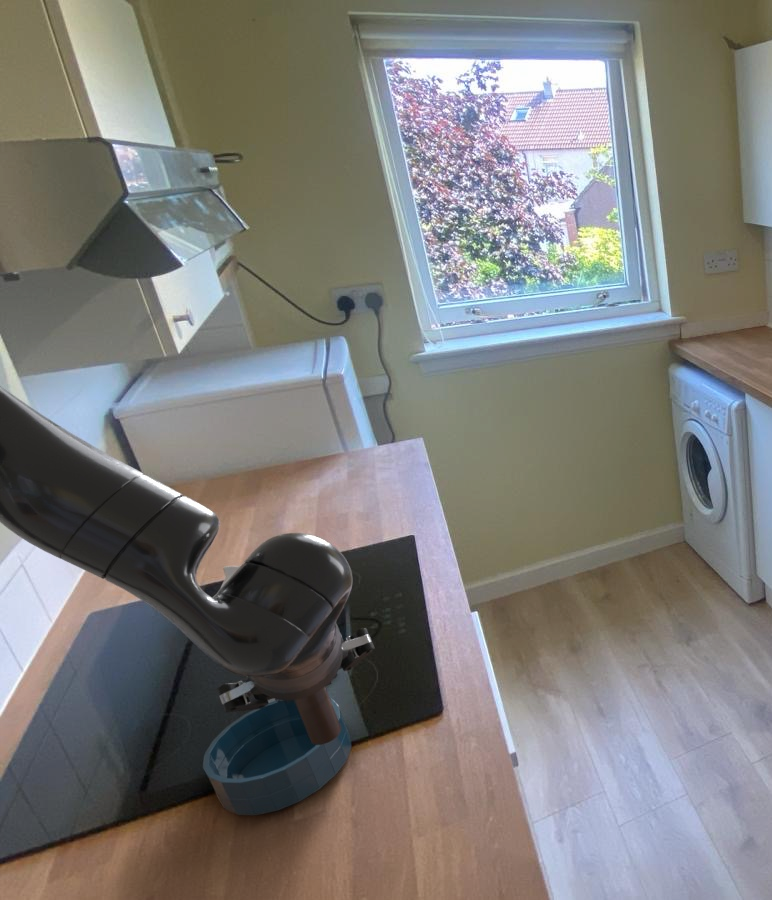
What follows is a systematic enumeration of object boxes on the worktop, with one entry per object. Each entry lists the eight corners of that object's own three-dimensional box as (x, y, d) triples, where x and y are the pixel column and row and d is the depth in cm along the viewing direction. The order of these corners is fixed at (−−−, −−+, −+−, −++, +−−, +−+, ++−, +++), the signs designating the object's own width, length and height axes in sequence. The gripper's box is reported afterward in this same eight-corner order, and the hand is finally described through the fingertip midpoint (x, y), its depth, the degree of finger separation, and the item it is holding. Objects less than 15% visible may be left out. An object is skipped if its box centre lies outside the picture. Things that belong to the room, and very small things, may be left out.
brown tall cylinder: (323, 748, 81) (295, 677, 76) (304, 741, 82) (275, 671, 77) (347, 728, 83) (321, 659, 79) (328, 722, 84) (301, 653, 80)
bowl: (274, 833, 85) (256, 797, 82) (193, 798, 90) (174, 763, 87) (377, 743, 97) (365, 709, 94) (301, 716, 102) (288, 683, 99)
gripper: (361, 583, 73) (362, 626, 86) (186, 649, 64) (217, 685, 78) (390, 651, 72) (387, 684, 85) (215, 727, 63) (242, 751, 76)
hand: (305, 685), depth 81 cm, fingers closed on brown tall cylinder, 3 cm apart
